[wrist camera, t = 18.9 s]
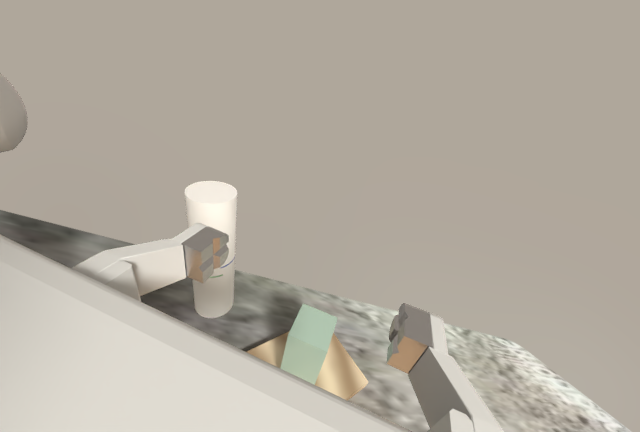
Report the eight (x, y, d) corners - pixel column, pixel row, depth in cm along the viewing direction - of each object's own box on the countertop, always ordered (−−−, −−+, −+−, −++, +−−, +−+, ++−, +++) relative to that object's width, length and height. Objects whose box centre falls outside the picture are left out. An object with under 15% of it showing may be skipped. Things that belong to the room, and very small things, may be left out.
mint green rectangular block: (310, 395, 38) (327, 351, 31) (277, 380, 38) (288, 334, 32) (321, 361, 42) (337, 317, 36) (291, 348, 43) (302, 303, 37)
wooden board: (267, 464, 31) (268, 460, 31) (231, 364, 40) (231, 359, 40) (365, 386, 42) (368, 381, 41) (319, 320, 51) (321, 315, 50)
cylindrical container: (240, 303, 50) (247, 195, 38) (207, 325, 45) (202, 209, 32) (220, 283, 54) (219, 177, 41) (187, 301, 48) (174, 187, 36)
